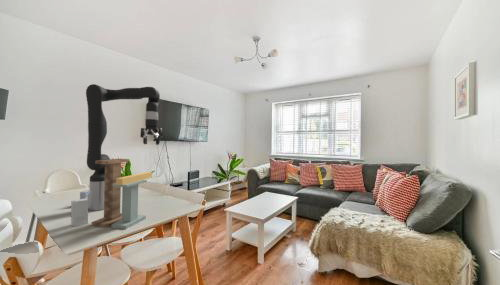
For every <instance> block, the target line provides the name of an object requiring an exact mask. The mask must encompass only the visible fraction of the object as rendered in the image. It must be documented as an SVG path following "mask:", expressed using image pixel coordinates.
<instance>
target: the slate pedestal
mask: <svg viewBox="0 0 500 285" xmlns="http://www.w3.org/2000/svg"><path fill="white" fill-rule="evenodd" d="M147 180H148V179H144V180H140V181H136V182H132V183H128V184H124V185H116V184H113V186H116V187H121V188H122V189H121V191H122V192H121V194H122V195H121V196H122V197H121V213H122V220H120V221H118V222H116V223H114V224H112V226H111V228H113V229H120V230H121V229H124V230H127V229H129V228H131V227H133V226H134V225H136V224H138V223H140V222H142V221H144V220H145V219H147V215H142V214H138V213H139V211H138V210H139V185H140V184H144V183H146V182H148V181H147Z"/></svg>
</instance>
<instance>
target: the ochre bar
mask: <svg viewBox="0 0 500 285" xmlns="http://www.w3.org/2000/svg"><path fill="white" fill-rule="evenodd" d="M151 178H153V172H152V171H145V172H139V173H136V174H135V173H134V174H130V175H127V176H125V175H124V176H121V177H120V178H116V185H124V184H128V183H132V182H136V181H140V180H148V179H151Z"/></svg>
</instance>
